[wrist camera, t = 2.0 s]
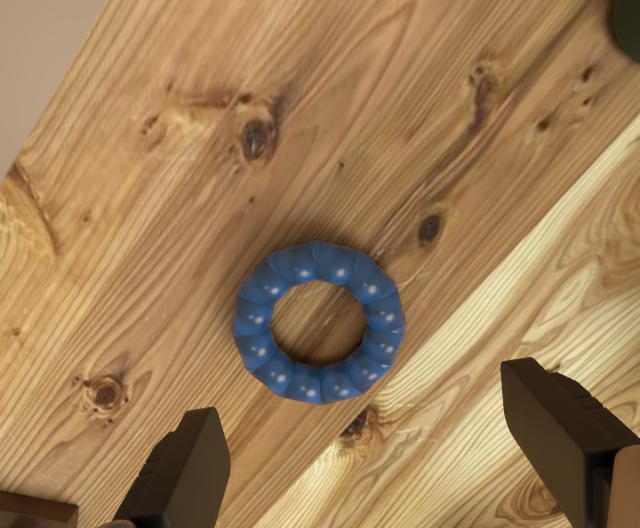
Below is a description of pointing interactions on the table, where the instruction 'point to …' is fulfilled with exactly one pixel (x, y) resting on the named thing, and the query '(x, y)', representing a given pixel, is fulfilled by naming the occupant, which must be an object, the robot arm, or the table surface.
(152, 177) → the table surface
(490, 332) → the table surface
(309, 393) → the blue segmented ring
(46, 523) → the stand
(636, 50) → the character mug
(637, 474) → the robot arm
